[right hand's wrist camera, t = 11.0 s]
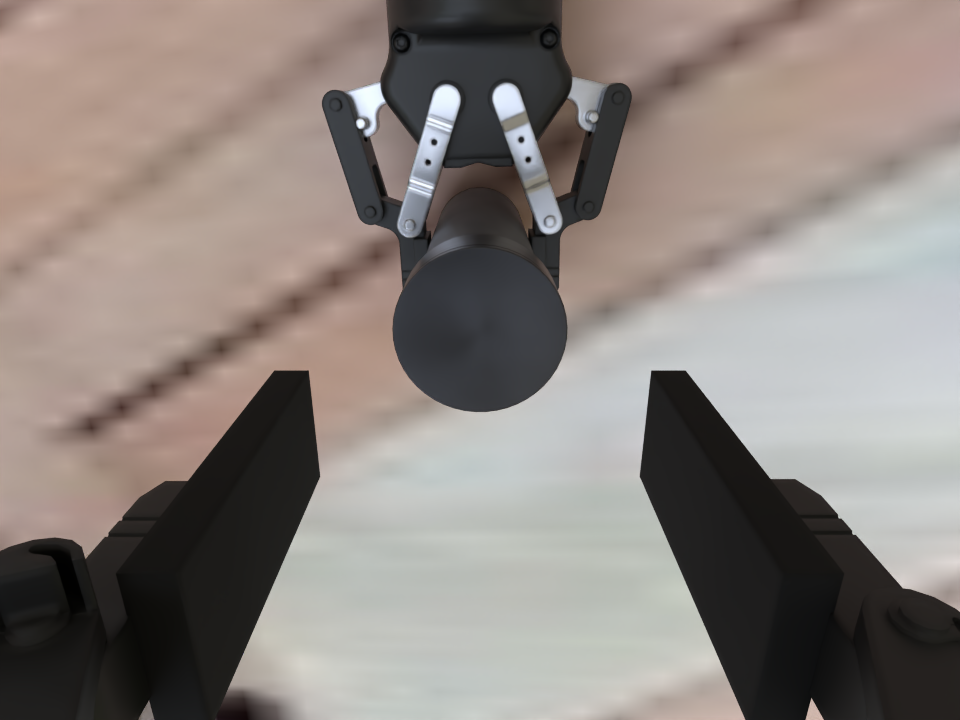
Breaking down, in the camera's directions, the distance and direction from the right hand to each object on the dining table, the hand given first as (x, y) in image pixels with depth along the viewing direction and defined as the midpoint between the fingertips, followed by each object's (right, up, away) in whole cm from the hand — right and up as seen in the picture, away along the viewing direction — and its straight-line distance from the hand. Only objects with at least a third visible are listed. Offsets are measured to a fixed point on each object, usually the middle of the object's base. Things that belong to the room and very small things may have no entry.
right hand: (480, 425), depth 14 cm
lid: (0, +3, +6) cm, 7 cm away
